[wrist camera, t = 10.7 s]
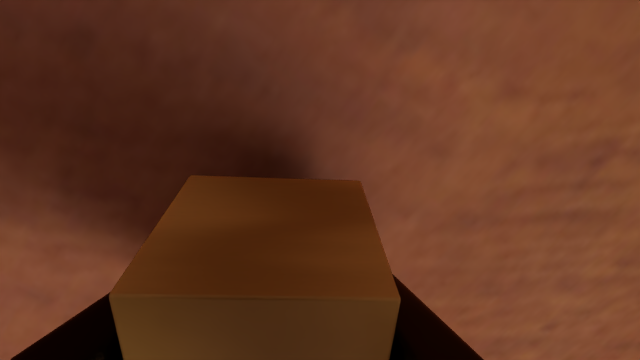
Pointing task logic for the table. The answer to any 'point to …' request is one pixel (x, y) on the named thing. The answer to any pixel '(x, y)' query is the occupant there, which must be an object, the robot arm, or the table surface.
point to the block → (259, 275)
